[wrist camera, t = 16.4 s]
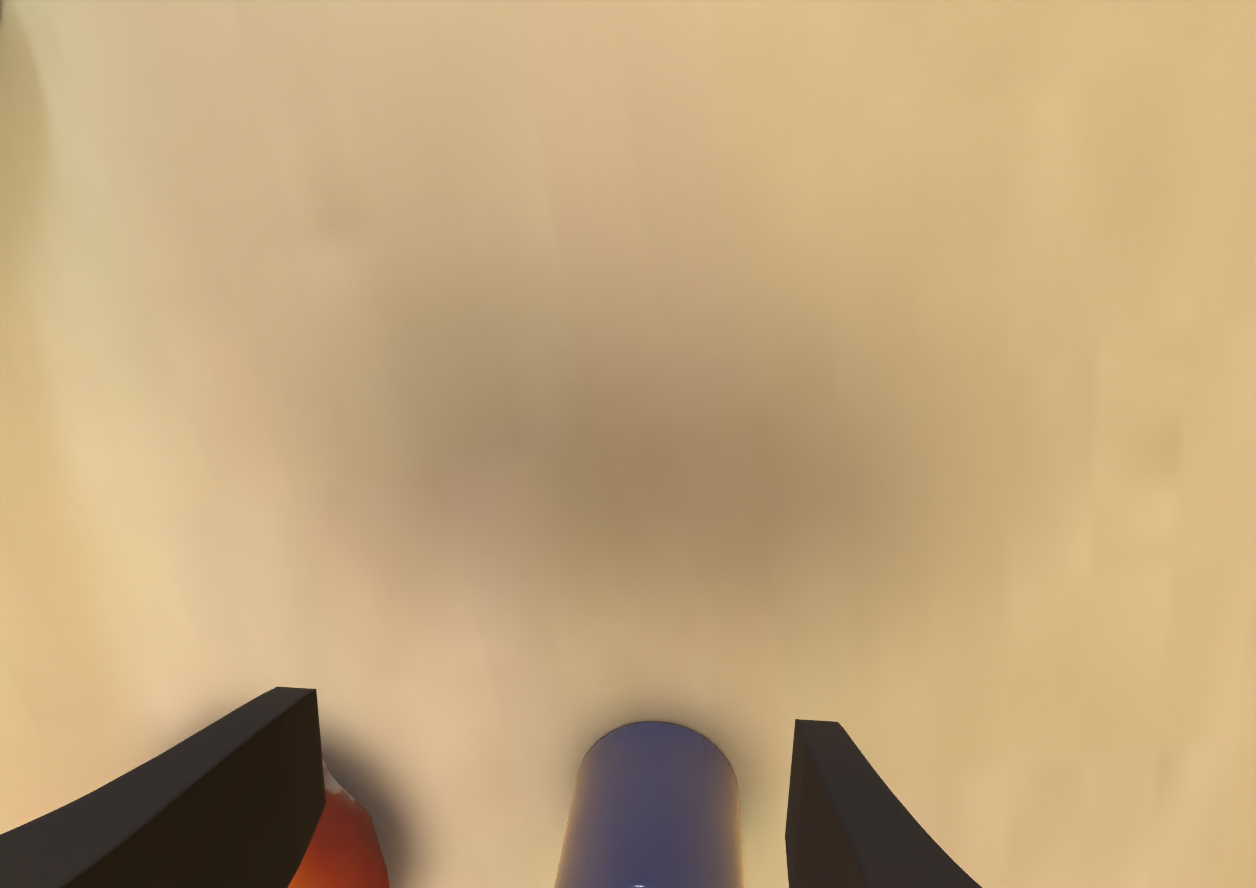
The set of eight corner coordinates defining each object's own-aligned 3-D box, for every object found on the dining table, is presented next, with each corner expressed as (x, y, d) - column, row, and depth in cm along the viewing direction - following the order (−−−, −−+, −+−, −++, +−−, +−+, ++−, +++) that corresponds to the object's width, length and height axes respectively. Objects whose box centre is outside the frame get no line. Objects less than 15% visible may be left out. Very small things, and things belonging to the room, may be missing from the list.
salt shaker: (624, 880, 25) (600, 1110, 19) (546, 758, 24) (493, 959, 18) (765, 824, 24) (788, 1046, 18) (690, 696, 23) (687, 883, 17)
